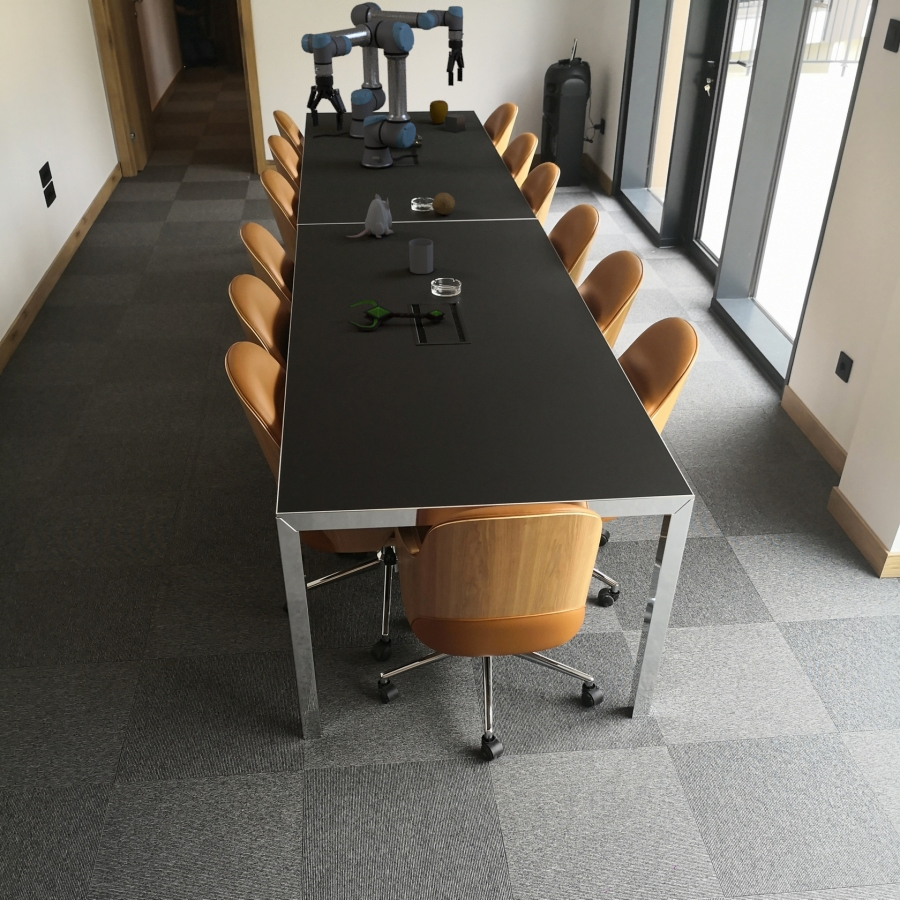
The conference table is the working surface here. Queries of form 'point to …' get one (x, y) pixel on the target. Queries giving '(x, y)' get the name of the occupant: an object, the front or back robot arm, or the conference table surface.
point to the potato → (443, 203)
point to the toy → (377, 219)
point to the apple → (438, 111)
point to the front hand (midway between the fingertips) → (327, 128)
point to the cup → (421, 256)
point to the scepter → (391, 315)
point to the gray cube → (455, 122)
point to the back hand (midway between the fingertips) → (455, 83)
